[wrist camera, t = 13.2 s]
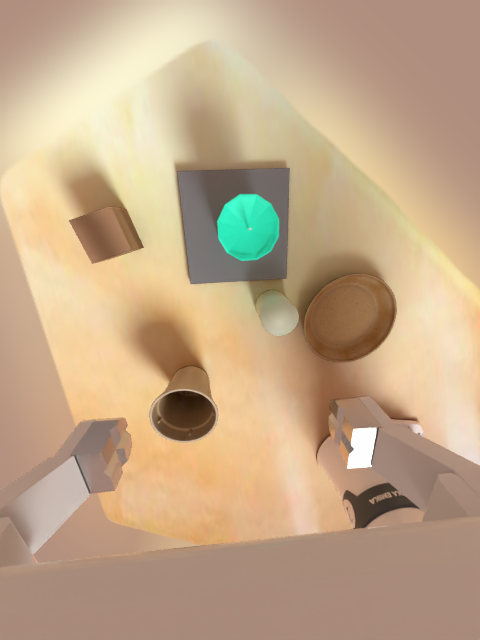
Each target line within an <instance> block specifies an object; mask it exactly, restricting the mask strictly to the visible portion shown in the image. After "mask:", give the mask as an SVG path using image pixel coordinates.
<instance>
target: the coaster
mask: <svg viewBox="0 0 480 640" xmlns="http://www.w3.org/2000/svg"><path fill="white" fill-rule="evenodd" d="M289 171H290V168H274V169H239V170H204V171H177V173H178V182H179V190H180V199H181V207H182V216H183V224H184V233H185V241H186V249H187V258H188V266H189V275H190V283H191V284H201V283H218V282H235V281H252V280H269V279H286V275H287V240H288V206H289ZM239 194H257V195H259V196H260V197H262V198H263V199H265V200H266V201H268V202H269V203H271V205H272V206H273V208H274V210H275V212H276V214H277V216H278V218H279V237H278V239H277V241H276V243H275V245H274V247H273V249H272V250H271V252H269V253H268V254H266V255H264V256H263V257H261V258H259V259H258V260H248V261H241V260H239V259H237V258H235V257H234V256H232V255H230V254H228V253H227V252H226V250H225V249H224V247H223V245H222V244H221V242H220V241H219V239H218V225H217V221H218V218H219V216H220V214H221V212H222V210H223V208H224V205H225V204H226V203H228V202H229V201H231V200H232V199H234V198H235V197H236V196H238V195H239Z"/></svg>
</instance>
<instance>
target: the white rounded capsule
mask: <svg viewBox="0 0 480 640" xmlns="http://www.w3.org/2000/svg"><path fill="white" fill-rule="evenodd" d="M256 311H257V314H258V316H259V318H260V320H261V322H262V324H263V327H264V328H265V330H266V331H267V332H268V333H270V334H272V335H275V336H283V335H286V334H288V333H290V332H291V331H293V330H294V328H295V327H296V326H297V323H298V320H299V314H298V310H297V309H296V307H295V306H294V305H293V304H292V303H291V302H290V301H289V300H288V299H287V298H286V297H285V296H284V295H283V294H282V293H281V292H279V291H276V290H269V291H266V292H264V293H262V294H261V295H260V296H259V298H258V299H257V301H256Z"/></svg>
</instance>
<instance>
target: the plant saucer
mask: <svg viewBox="0 0 480 640" xmlns="http://www.w3.org/2000/svg"><path fill="white" fill-rule="evenodd" d="M396 312H397V307H396V300H395V297H394V294H393V292H392V290H391V289H390V287H389V286H388V285H387V284H386V283H385V282H384V281H382V280H381V279H379V278H377V277H375V276H372V275H368V274H350V275H346V276H342V277H340V278H338V279H335V280H333V281H332V282H330V283H329V284H327V285H326V286H325V287H323V288H322V289H321V290H320V291H319V292H318V293H317V295H316V296H315V297H314V298H313V300H312V301H311V303H310V305H309V307H308V309H307V312H306V315H305V319H304V334H305V338H306V340H307V343H308V345H309V346H310V348H311V349H312V350H313V351H314V352H315V353H316V354H317V355H318V356H320V357H322V358H323V359H326V360H329V361H332V362H350V361H355V360H358V359H361V358H363V357H365V356H367V355H369V354H370V353H372V352H373V351H375V350H376V349H377V348H378V347H379V346H380V345H381V344H382V343H383V342H384V341H385V340H386V338H387V337H388V335H389V334H390V332H391V330H392V328H393V325H394V322H395V318H396Z"/></svg>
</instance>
